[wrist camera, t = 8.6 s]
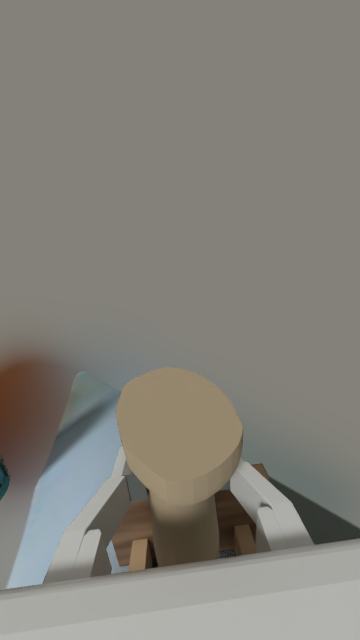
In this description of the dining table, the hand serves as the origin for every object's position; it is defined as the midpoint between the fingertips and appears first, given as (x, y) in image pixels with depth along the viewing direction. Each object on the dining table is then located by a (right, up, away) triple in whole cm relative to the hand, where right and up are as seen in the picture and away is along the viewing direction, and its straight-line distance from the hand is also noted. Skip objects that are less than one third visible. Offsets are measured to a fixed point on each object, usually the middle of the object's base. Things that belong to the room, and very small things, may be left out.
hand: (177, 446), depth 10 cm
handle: (+1, -11, +2) cm, 11 cm away
